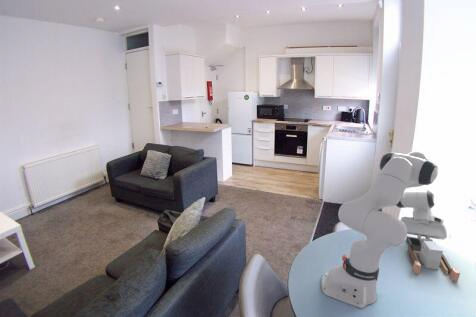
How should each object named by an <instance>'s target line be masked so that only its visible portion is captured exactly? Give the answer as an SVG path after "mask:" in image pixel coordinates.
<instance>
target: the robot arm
mask: <svg viewBox="0 0 476 317" xmlns="http://www.w3.org/2000/svg"><path fill="white" fill-rule="evenodd" d="M379 169H380V172H379V173H378V175H377V176H376V179H375V180H374V182H373V184H372V185H371V187H370V188H369V190H368V191H367V192H365V193H364V194H363V195H362V196H360V197H358V198H355V199H352V200H348V201H346V202H344V203H342V204H341V205H340V207H339V209H338V213H337V214H338V220H339V222H340V223H341V224H343V225H344V226H346V227H347V228H349V229H350V230H353V231H355V232H357V233H360V234H362V235H364V236H365V237H366V238H360V239H356V240H354V241H353V242H352V243H351V246H350V251H349V252H350V253H349V257H348V256H347V255H346V254H343V255H342V256H341V257H342V259H341V260H342V261H343V262H342V263H341V264H338V265H335V266H334V265H333V266H332V267H331V268H330V269H329V271H328V272H325V273H324V274H323V275H322V277H321V281H320V285H321V286H320V287H321V291H322V292H323V294H324V295H325V296H327V297H330V298H333V299H336V300H338V301H340V302H343V303H346V304H348V305H350V306H354V307H357V308H359V309H363V308H365V307H366V306H368V305H373V304H374V303H375V302H376V301H377V299H378V292H377V281H378V278H379V273H380V267H379V265H380V261H381V257H382V254H383V253H384V252H385V251H386V250H387V249H389V248H392V247H397V246H400V245H401V244H403V243H404V242H405V241H406V238H407V236H408V235H413V236H417V237H416V238H418V239H419V240H420V244H422V239H423V238H426V239H437V240H441V241H442V240H445V239H447V238H448V233H447V228H446V226H445V225H444V219H442V218H440V217H438V216H435V215H433V213H432V208H433V207H435V202H434V201H435V200H434V198H435V196H434V193H432V192H431V191H430V190H428V189H423V188H422V189H421V188H419V189H411V188H417V187H422V186H428V185H431V184H432V183H434V181H435V180H436V178H438V173H439V168H438V166H437V164H436V163H435V162H433V161H432V160H430V159H429V156H427V154H426V153H425V152H422V151H418V150H414V151H411V152H408V153H407V154H405V153H397V152H396V151H395V152H394V151H391V152H389V151H388V152H386V153H385V154H383V155H382V157H381V158H380V163H379ZM394 206H396V207H398V208H399V209H403V208H404V209H406V208H408V209H409V208H412V209H413V210H412V216H405V215H404V216H402V217H401V218H400V219H399V218H397V217H396V216H394V215H392V214H390V213H386V212H384V211H381V210H380V209H383V208H387V207H394Z"/></svg>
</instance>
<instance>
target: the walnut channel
mask: <svg viewBox="0 0 476 317" xmlns="http://www.w3.org/2000/svg"><path fill="white" fill-rule="evenodd" d="M407 246H408V245H407ZM413 251H414V250H413ZM413 251H412V249H411V247H409V246H408V247H407V254H408V256H409V258H410V262H411V264H412V267H413V266H414V261H416V258H415V256H414V254H413ZM441 259H442V260H443V262H444V264H445V266H446V267H447V269H448V273H447V275H449V276H450V274H451V270H452V268H453V267H452V266H451V265H450V263H449V262H448V260H447V258H446V257H445V255H444V253H442V257H441Z"/></svg>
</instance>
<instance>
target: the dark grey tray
mask: <svg viewBox="0 0 476 317" xmlns="http://www.w3.org/2000/svg"><path fill="white" fill-rule="evenodd" d="M422 240H423V238H422ZM405 241H406V245H407V246H409V247H411V249H412V250H413V251H419V252H420V248H421V244H420V240H419V239H418V237H413V236H408V235H407V237H406V239H405Z"/></svg>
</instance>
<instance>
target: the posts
mask: <svg viewBox="0 0 476 317" xmlns="http://www.w3.org/2000/svg"><path fill="white" fill-rule="evenodd" d="M420 262H421V261H419V262H418V261H414V266H413V265H412V271H413V274H416V275H420V272H421V268H422V265H421V263H420ZM451 268H452V270H451V274H450V275H449V277H450V280H451V281H452V282H455V283H458V281H459V279H460V274H461V273H460V271H459V270H458V268H456V267H455V268H454V267H451Z"/></svg>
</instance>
